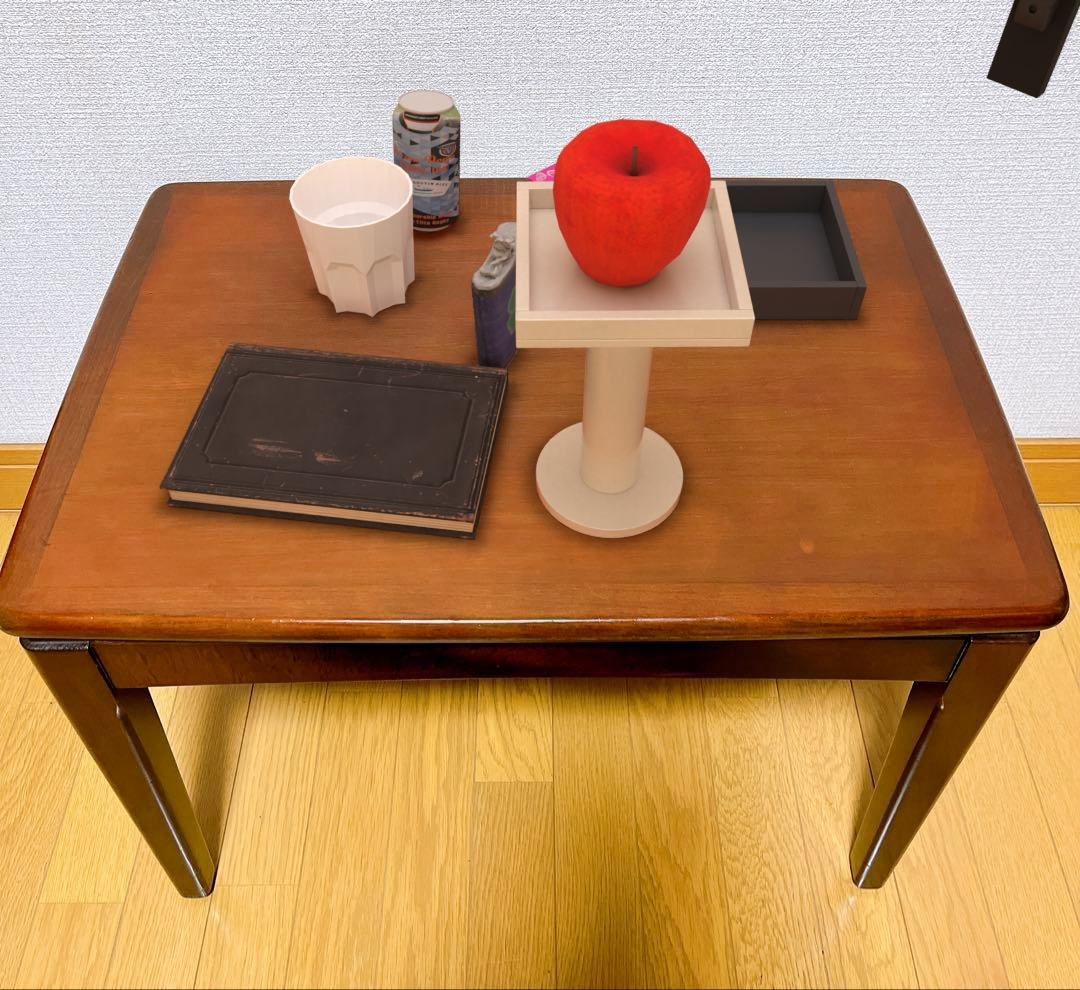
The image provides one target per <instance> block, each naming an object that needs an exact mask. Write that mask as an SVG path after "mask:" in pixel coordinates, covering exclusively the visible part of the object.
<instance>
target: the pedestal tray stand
mask: <svg viewBox="0 0 1080 990" xmlns="http://www.w3.org/2000/svg"><path fill="white" fill-rule="evenodd" d="M725 181H726V180H711V186H710V190H709V194H708V198H707V202H706V206H705V209H704V212H703V214H702V216H701V218H700V220H699V223H698V225H697V226H696V228H695V230H694V232H693V233H692V235H691V237H690V239H689V240H688V242H687V244H686V246H685V247H684V249H683V251H682V252H681V254H680V255H679V256H678V257H677V258H675V259H674V260H673V261H672V262H671V263H669V264H668V265H667V266H666V267H665V268H664V269H662V270H661V271H660V272H659V273H658V274H656V275H655V276H654V277H653V278H652V279H651V280H649V281H647V282H645V283H642V284H639V285H631V286H623V287H617V286H612V285H607V284H603V283H598V282H597V281H595V280H594V279H592V278H591V277H589V276H588V275H586V274H585V273H584V272H583V271H582V269H581V268H580V267H579V266H578V264H577V262H576V261H575V259H574V258H573V256H572V254H571V253H570V251H569V249H568V247H567V245H566V243H565V240H564V238H563V236H562V233H561V231H560V229H559V226H558V221H557V217H556V213H555V207H554V198H553V182H554V181H551V182H527V181H516V200H515V201H516V203H515V204H516V205H515V207H516V208H515V209H516V210H515V211H516V213H515V215H516V216H515V219H516V220H515V223H516V304H515V326H516V348H518V349H546V348H547V349H558V348H560V349H561V348H563V349H564V348H565V349H566V348H569V349H571V348H573V349H575V348H576V349H577V348H578V349H581V348H583V349H584V348H585V353H584V355H585V357H584V375H583V395H582V396H583V398H582V399H583V401H582V416H581V417H582V419H581V421H579V422H576V423H574V424H572V425H569V426H567V427H565V428H564V429H562V430H561V431H559V432H557V433H556V434H555V435H553V436H552V437H551V438H550V439H549V440H548V441H547V442H546V444H545V445H544V447H543V448H542V450H541V451H540V453H539V456H538V457H537V462H536V465H535V488H536V491H537V494H538V497H539V500H540V501H541V503H542V505H543V506H544V508H545V510H547V512H548V513H549V514H550V516H552V518H554V519H555V520H556V521H558V522H559V523H561V524H562V525H563V526H565V527H567V528H569V529H571V530H573V531H574V532H577V533H581V534H582V535H587V536H591V537H594V538H595V537H596V538H603V539H622V538H627V537H633V536H637V535H641V534H644V533H646V532H648V531H650V530H652V529H654V528H655V527H658V526H659V525H660V524H662V523H663V522H664V521H665V520H666V519H668V517H669V516H670V515H671V514H672V513H673V511H674V510H675V508H676V507H677V505H678V504H679V501H680V498H681V496H682V495H681V494H682V489H683V482H684V470H683V465H682V462H681V460H680V457H679V456H678V454H677V453H676V451H675V449H674V448H673V446H671V444H670V442H668V441H667V440H666V439H665V438H664V437H663V436H661V435H660V434H659V433H657V432H655V431H654V430H652V429H650V428H649V427H647V426H645V425H646V417H647V407H648V401H649V391H650V381H651V373H652V364H653V357H654V356H653V355H654V349H655V348H713V347H714V348H715V347H717V348H718V347H721V348H722V347H723V348H724V347H725V348H726V347H731V348H732V347H737V348H738V347H739V348H740V347H750V344H751V339H752V335H753V330H754V325H755V316H754V311H753V306H752V302H751V297H750V293H749V288H748V284H747V279H746V274H745V270H744V265H743V261H742V256H741V251H740V247H739V242H738V238H737V233H736V228H735V224H734V219H733V215H732V210H731V205H730V201H729V196H728V192H727V187H726V182H725Z"/></svg>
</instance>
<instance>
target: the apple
mask: <svg viewBox="0 0 1080 990" xmlns="http://www.w3.org/2000/svg"><path fill="white" fill-rule="evenodd" d="M555 163H556V166H555V172H554V182H553V198H554V207H555V213H556V217H557V221H558V226H559V229H560V231H561V233H562V236H563V238H564V240H565V243H566V245H567V247H568V249H569V251H570V253H571V254H572V256H573V258H574V259H575V261H576V262H577V264H578V266H579V267H580V268H581V269H582V271H583V272H584V273H585V274H586V275H588V276H589V277H591V278H592V279H594V280H595V281H597V282H598V283H603V284H607V285H612V286H617V287H623V286H631V285H639V284H642V283H645V282H647V281H649V280H651V279H652V278H653V277H654V276H655V275H656V274H658V273H659V272H660V271H661V270H662V269H664V268H665V267H666V266H667V265H668V264H669V263H671V262H672V261H673V260H674V259H675V258H677V257H678V256H679V255H680V254H681V252H682V251H683V249H684V247H685V246H686V244H687V242H688V240H689V239H690V237H691V235H692V233H693V232H694V230H695V228H696V226H697V225H698V223H699V220H700V218H701V216H702V214H703V212H704V209H705V206H706V202H707V198H708V194H709V190H710V186H711V181H712V174H711V172H712V171H711V166H710V164H709V163H708V161H707V159H706V157H705V155H704V153H703V152H702V151H701V149H700V148H699V147H698V145H697V143H696V142H695V140H693V138H692V137H691V136H689V135H688V134H687V133H685V132H683V131H681V130H679V129H678V128H677V127H675V126H673V125H670V124H668V123H664V122H661V121H658V120H651V119H650V120H649V119H634V118H632V119H630V118H619V119H613V120H608V121H601V122H596V123H594V124H591V125H590V126H588V127H586V128H585V129H583V130H581V131H579V133H577V135H575V136H574V137H573V138H572V139H571V140H570V141H569V142H568V143H567V144H565V146H564V147H563V148H562V150H561V151H560V153H558V156H557V158H556V161H555Z"/></svg>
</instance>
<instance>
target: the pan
mask: <svg viewBox="0 0 1080 990" xmlns="http://www.w3.org/2000/svg"><path fill="white" fill-rule="evenodd" d="M724 181H725V182H726V187H727V192H728V196H729V201H730V205H731V210H732V215H733V219H734V224H735V228H736V233H737V238H738V242H739V247H740V251H741V256H742V261H743V265H744V270H745V274H746V279H747V284H748V288H749V293H750V297H751V302H752V306H753V311H754V316H755V320H757V321H758V320H762V321H763V320H764V321H765V320H769V321H770V320H774V321H775V320H777V321H778V320H780V321H781V320H787V321H789V320H795V321H796V320H799V321H801V320H808V321H809V320H811V321H812V320H815V321H816V320H821V321H822V320H823V321H824V320H827V321H828V320H831V321H832V320H836V321H837V320H838V321H839V320H840V321H841V320H842V321H843V320H844V321H845V320H846V321H847V320H850V321H851V320H854V321H855V320H857V319H858V316H859V314H860V310H861V307H862V304H863V301H864V298H865V295H866V292H867V288H868V286H867V282H866V280H865V276H864V273H863V270H862V267H861V263H860V261H859V258H858V254H857V251H856V248H855V245H854V241H853V239H852V236H851V233H850V228H849V227H848V223H847V220H846V217H845V214H844V211H843V208H842V205H841V201H840V198H839V195H838V192H837V189H836V186H835V183H834V180H829V179H828V180H724Z"/></svg>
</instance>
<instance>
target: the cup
mask: <svg viewBox="0 0 1080 990" xmlns="http://www.w3.org/2000/svg"><path fill="white" fill-rule="evenodd" d="M289 202H290V204H291V208H292V211H293V214H294V216H295V220H296V223H297V227H298V229H299V232H300V236H301V238H302V241H303V244H304V245H303V246H304V247H305V250H306V251H305V252H306V254H307V257H308V260H309V264H310V267H311V270H312V273H313V277H314V281H315V283H316V284H315V285H316V287H317V289H318V293H319V294H321V295H324V296H326V297H327V298H328V299H329V300H330V301H331V302H332V303H333V306H334V309H335V313H336V314H338V313H343V312H349V313H350V312H351V313H359V314H364V315H368V316H369V317H371V318H374V317H375V316H376V315H377V314H378V313H379V312H381V311H383V310H385V309H387V308H390V307H392V306H395V305H402V304H406V296H405V295H406V292H407V289H408V287H409V285H411V283H413V282H414V281H415V279H416V278H415V277H416V276H415V275H416V274H415V250H414V249H415V248H414V245H415V244H414V229H413V193H412V181H411V179H410V177H409V175H408V174H407V173H406V172H405V171H404V170H403V169H402V168H401V167H399V166H397V165H395V164H394V162H391V161H389V160H384V159H382V158H379V157H373V156H363V155H361V156H360V155H359V156H344V157H339V158H334V159H329V160H326V161H324V162H320V163H318V164H315V165H313V166H312V167H310V168H309V169H307V170H305V171H304V172H302V173H301V174H300V175H299V176H298V177H297V178H296V179H295V181H294V182H293V184H292V185H291V187H290V190H289Z"/></svg>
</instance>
